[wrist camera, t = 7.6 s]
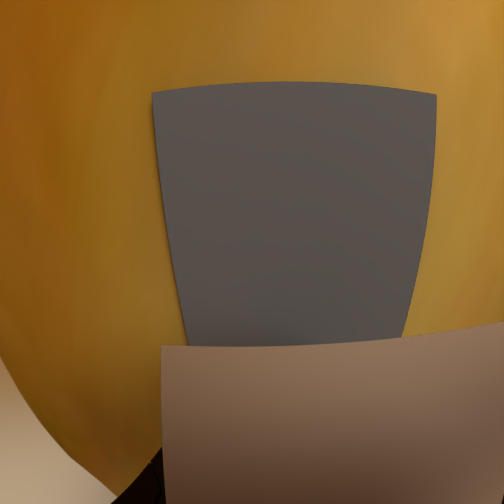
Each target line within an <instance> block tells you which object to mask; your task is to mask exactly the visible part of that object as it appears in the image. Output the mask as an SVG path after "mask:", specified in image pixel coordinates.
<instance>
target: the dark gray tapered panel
mask: <svg viewBox="0 0 504 504" xmlns="http://www.w3.org/2000/svg"><path fill="white" fill-rule="evenodd" d="M152 104H153V116H154V127H155V138H156V148H157V157H158V166H159V174H160V182H161V190H162V198H163V205H164V212H165V219H166V226H167V232H168V238H169V245H170V251H171V257H172V263H173V268H174V274H175V279H176V285H177V290H178V295H179V300H180V305H181V310H182V315H183V320H184V325H185V330H186V334H187V339H188V343H189V346H211V347H263V346H297V345H318V344H335V343H349V342H361V341H373V340H383V339H393V338H401V336H402V332H403V329H404V325H405V321H406V318H407V314H408V310H409V306H410V303H411V298H412V294H413V290H414V286H415V282H416V277H417V272H418V268H419V263H420V258H421V253H422V247H423V242H424V236H425V230H426V224H427V217H428V210H429V203H430V195H431V187H432V177H433V167H434V154H435V138H436V105H437V95H435V94H430V93H424V92H418V91H411V90H404V89H397V88H389V87H380V86H370V85H359V84H345V83H327V82H252V83H234V84H220V85H209V86H199V87H190V88H181V89H174V90H167V91H160V92H154V93H152Z"/></svg>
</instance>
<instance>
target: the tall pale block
mask: <svg viewBox="0 0 504 504" xmlns="http://www.w3.org/2000/svg"><path fill="white" fill-rule="evenodd" d="M161 424H162V449H163V467H164V481H165V494H166V504H501V503H502V499H503V495H504V322H499V323H494V324H488V325H483V326H477V327H472V328H466V329H460V330H453V331H447V332H440V333H433V334H426V335H418V336H410V337H402V338H393V339H383V340H373V341H361V342H349V343H335V344H318V345H297V346H263V347H211V346H176V345H161Z"/></svg>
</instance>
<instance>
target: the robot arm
mask: <svg viewBox="0 0 504 504" xmlns="http://www.w3.org/2000/svg"><path fill="white" fill-rule="evenodd" d="M111 504H166V494H165V481H164V467H163V449H162V447H161V448H160V450H159V451H158V452H157V454H156V455H155V456H154V457H153V459H152V460H151V463H149V464H148V465H147V466H146V467H145V469H144V470H143V471H142V472H141V473H140V475H139V476H138V477H137V478H136V479H135V480H134V482H133V483H132V484H131V485H130V486H129V487H128V488H127V489H126V490H125V491H124V492H123V493H122V494H121V495H120V496H119V497H118V498H117V499H115V500H114V501H113V502H112V503H111ZM501 504H504V495H503V499H502V503H501Z"/></svg>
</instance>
